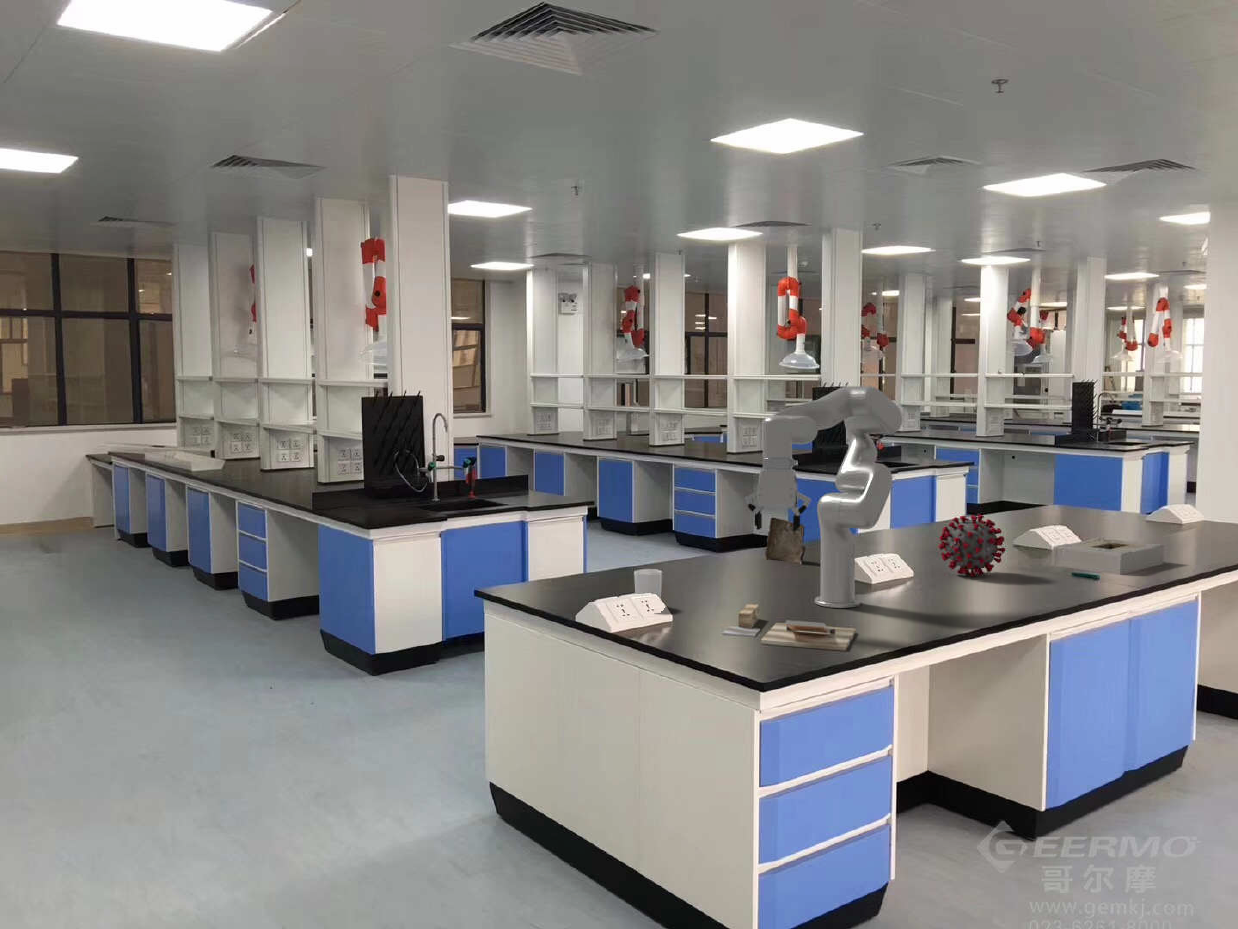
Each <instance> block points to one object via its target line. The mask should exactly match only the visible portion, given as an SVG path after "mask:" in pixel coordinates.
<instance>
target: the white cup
mask: <svg viewBox="0 0 1238 929" xmlns="http://www.w3.org/2000/svg"><path fill="white" fill-rule="evenodd" d="M633 576H634V591H635V594H641V593H651V594H656V595H657V596H658V597H659V598H660V600H661V598H662V587H663V586H662V584H663V580H662V579H663V571H662V570H660V569H653V568H644V569H643V568H642V569H637V570H634V572H633Z"/></svg>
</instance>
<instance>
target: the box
mask: <svg viewBox="0 0 1238 929" xmlns="http://www.w3.org/2000/svg"><path fill="white" fill-rule="evenodd" d="M1164 547H1165V545H1164V544H1159V543H1157V544H1156V543H1155V544H1154V543H1145V542H1137V541H1127V540H1120V539H1110V538H1105V537H1095V538H1089V539H1088V540H1082V541H1077V542H1074V543H1073V542H1072V543H1064V544H1058V545H1055V546H1052V564H1053V566H1054V567H1060V568H1061V567H1062V568H1069V569H1075V570H1083V571H1090V572H1096V573H1097V572H1099V573H1104V574H1111V575H1117V576H1119V575H1120V576H1121V575H1124V574H1128V573H1132V572H1136V571H1140V570H1145V569H1149V568H1151V567H1156V566H1160V565H1164V556H1165V555H1164V553H1165V552H1164V551H1165V548H1164Z"/></svg>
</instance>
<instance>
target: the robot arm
mask: <svg viewBox="0 0 1238 929" xmlns="http://www.w3.org/2000/svg"><path fill="white" fill-rule="evenodd" d="M843 421H844V422H843ZM841 422H843V423H844V426H845V430H846V434H847V440H848V447H847V448H848V449H847V450H846V454H845V455H844V458H843V460H842V462H841V465H840V467H839V469H838V472H837V474H836V477H835V480H834V481H835V482H834V483H835V488H836V489H837V491H839V492H830V493H825V494H824V495H823V496H821V497H819V500H818V502H817V504H816V505H817V507H816V508H817V509H816V512H817V518H818V524H819V531H820V592H819V593H820V595H819V596H816V597H814V604H816V605H819V606H822V607H826V608H834V609H835V608H836V609H837V608H838V609H846V608H847V609H848V608H856V607H859V606H860V605H861V600H860V599H859V598H858V597H856V596H855V594H856V591H855V590H856V589H855V586H856V585H855V584H856V582H855V577H856V573H855V572H856V569H855V568H856V541H855V537H854V535H853V533H852V531H851V530H850V529H856V530H869V529H872V528H874V527H875V526H876V524H877V523H878V522H879V520H880V517H881V515H882V513H883V510H884V508H885V505H886V503H887V501H888V498H889V496H890V493H891V489H892V488H893V475H892V472H891V469H890V468H889V467H888V466H887V465H885V464H883V463H878V462H877V459H878V458H877V457H878V450H877V446H876V444H875V443H874V441H873V440H872V438H871V436H870V434H873V435H876V434H880V435H888V434H889V435H891V434H895V433H896V432H898V431H899V430H900V429H901V427H902V423H903V415H902V412H901V409H900V408H899V406H898V405H897V404H896V403H895V402H894V401H893V400H892V399H891V398H889V396H887V395H886V394H885V393H884V392H882V391H881V390H880V389H878V388H876V387H875V386H872V385H870V386H869V385H866V386H865V385H861V386H858V385H857V386H855V385H854V386H851V385H850V386H848V385H847V386H843V387H839V388H837V389H836V390H833V391H832V392H830V393H828V394H826V395H824V396H822V397H821V398H818V399H815V400H812V401H808V402H805V403H801V404H797V405H794V406H789V407H787V408H784V409H782V410H780V411H778V412H775V413H774V414H772V415H771V416H770V417H766V418H764V419H763V422H762V469H760V470H759V476H758V482H757V491H754V492H752V493H750V494H748V495H747V496H744V502H745V503H746V505H747V507H748V509H749V510H750V511H751V512H752V513H753V514H754V526H755V527H756V530H758V531H759V530H760V529H762V527H763V526H762V525H763V524H762V523H763V520H762V519H763V517H762V516H763V514H762V513H761V511H762V510H763V509H764V508H765V509H766V508H768V509H790V510H791V511H792V512H793V514H794V515H793V516H792V519H793V520H792V522H793V531H797V530H798V528H800V524H801V515H802V514H803V513H804V512H805V511H806V510H807V509H808V507H809V506H810V503H811V501H812V498H810V497H808V496H807V495H804V494H803V493H801V492H799V490H798V488H799V487H798V480H797V473H796V470H795V469H793V467H795V466H798V462H799V461H798V460H796V459H794V458H793V445H806V444H810V443H812V442H813V441H814V440H815V439H816V437H817V435H818V431H821V430H826V429H830V428H832V427H835V426H836V425H838V424H839V423H841ZM876 462H877V463H876ZM756 497H757V498H756ZM755 498H756V499H757V500H756V501H757V506H756V505H755V504H754V503H753V501H752V500H753V499H755ZM799 500H801V501H803V504H802V506H801V507H799V506H798V505H799V504H798V503H799Z"/></svg>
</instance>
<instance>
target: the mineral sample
mask: <svg viewBox="0 0 1238 929" xmlns="http://www.w3.org/2000/svg"><path fill="white" fill-rule="evenodd" d="M769 523H770V524H769V526H768V527H769V531H768V532H767V539H766V542H767V545H766V550H765V558H766V560H770V559H771V560H779V561H785V562H791V563H798V564H799V565H802V563H803V561H804V556H805V553H806V546H804V537H805V528H806V527H805V524H801V523H800V528H798V530H797V531H793V521H791V520H787V519H785V518H784V519H783V518H777V517H770V522H769Z"/></svg>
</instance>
